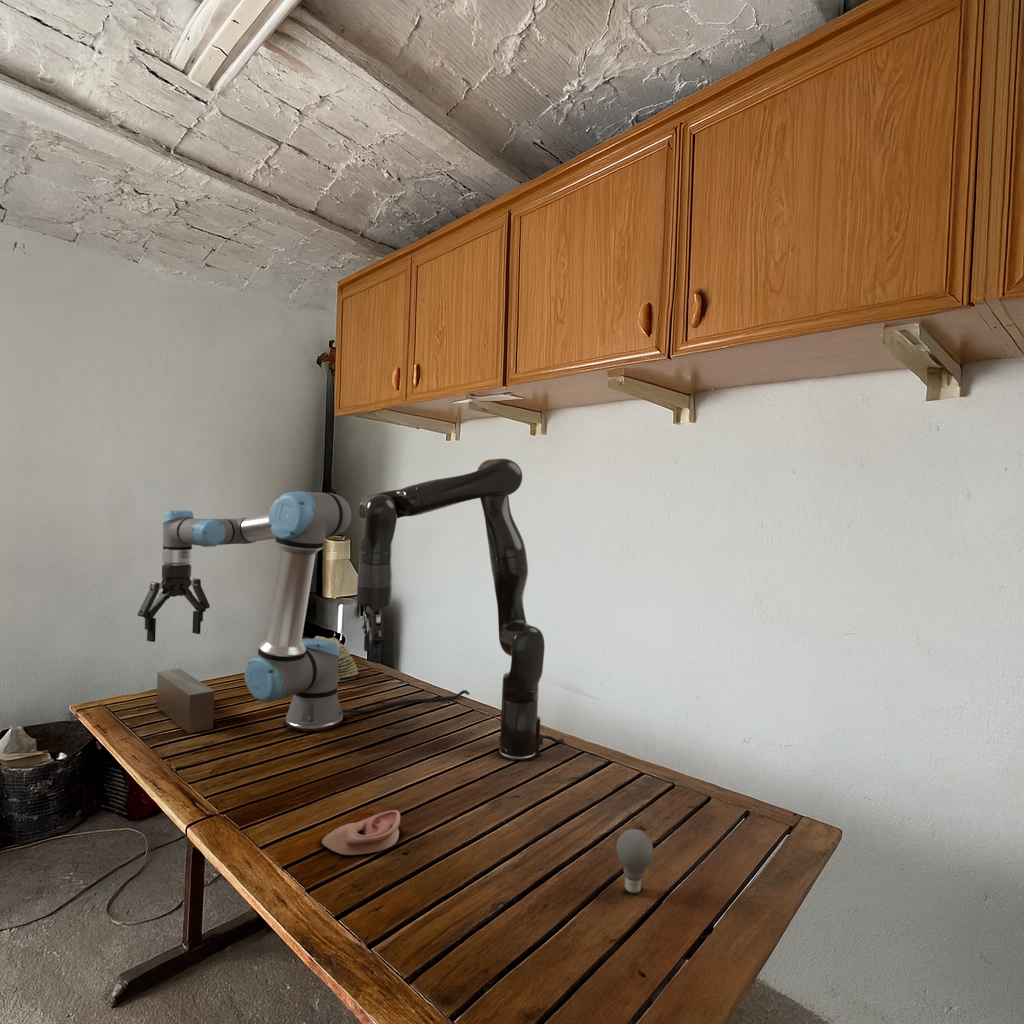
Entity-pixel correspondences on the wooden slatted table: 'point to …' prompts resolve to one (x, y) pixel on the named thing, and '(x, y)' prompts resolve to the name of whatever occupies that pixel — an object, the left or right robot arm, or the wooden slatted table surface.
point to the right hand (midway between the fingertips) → (371, 655)
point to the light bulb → (634, 857)
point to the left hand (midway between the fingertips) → (174, 637)
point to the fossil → (343, 662)
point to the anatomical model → (365, 835)
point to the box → (185, 700)
